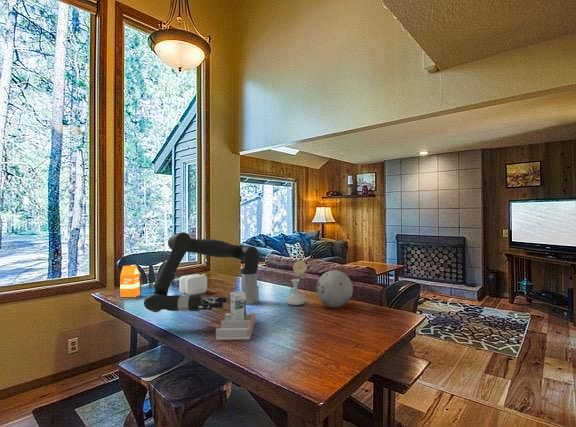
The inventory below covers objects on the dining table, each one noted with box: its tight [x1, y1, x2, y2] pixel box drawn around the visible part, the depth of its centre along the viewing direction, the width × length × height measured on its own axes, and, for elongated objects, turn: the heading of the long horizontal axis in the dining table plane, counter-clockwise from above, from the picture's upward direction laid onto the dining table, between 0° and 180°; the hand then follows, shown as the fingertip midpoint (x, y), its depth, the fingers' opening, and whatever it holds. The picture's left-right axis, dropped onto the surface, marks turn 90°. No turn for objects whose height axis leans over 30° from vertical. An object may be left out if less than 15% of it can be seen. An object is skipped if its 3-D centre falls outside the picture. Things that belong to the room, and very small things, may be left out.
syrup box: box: [230, 291, 247, 320], centre depth 148 cm, size 6×6×14 cm
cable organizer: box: [178, 273, 208, 295], centre depth 212 cm, size 15×11×12 cm
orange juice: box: [119, 265, 141, 298], centre depth 205 cm, size 8×9×20 cm
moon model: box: [316, 269, 354, 308], centre depth 176 cm, size 20×20×20 cm
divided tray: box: [215, 312, 256, 341], centre depth 143 cm, size 14×22×4 cm, turn 0°
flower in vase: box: [285, 260, 308, 306], centre depth 182 cm, size 13×11×25 cm
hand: (224, 302), depth 148 cm, fingers open, 8 cm apart
